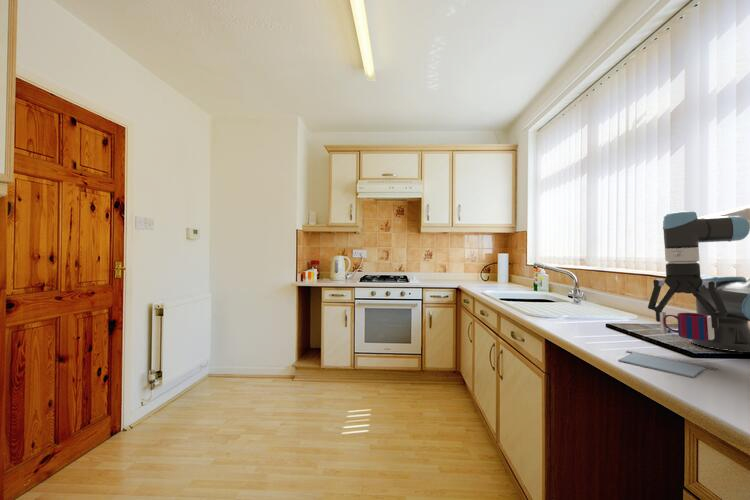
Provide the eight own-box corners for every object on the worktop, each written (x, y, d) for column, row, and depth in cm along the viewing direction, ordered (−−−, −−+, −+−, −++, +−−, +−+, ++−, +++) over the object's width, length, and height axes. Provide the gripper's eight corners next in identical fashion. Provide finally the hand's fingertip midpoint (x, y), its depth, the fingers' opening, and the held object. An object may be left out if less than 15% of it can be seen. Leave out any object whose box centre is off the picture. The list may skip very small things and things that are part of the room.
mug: (709, 341, 91) (707, 317, 91) (662, 335, 99) (661, 313, 99) (710, 337, 95) (709, 314, 96) (666, 331, 103) (664, 310, 103)
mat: (632, 354, 100) (632, 352, 100) (704, 368, 87) (704, 367, 87) (618, 361, 94) (618, 359, 94) (693, 377, 81) (693, 376, 81)
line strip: (628, 351, 103) (628, 350, 103) (717, 368, 86) (717, 367, 86) (626, 352, 102) (626, 351, 102) (716, 370, 85) (716, 369, 85)
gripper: (632, 263, 105) (636, 331, 104) (734, 262, 86) (739, 345, 85) (640, 262, 109) (644, 327, 108) (739, 261, 90) (745, 340, 90)
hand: (686, 335), depth 97 cm, fingers closed on mug, 10 cm apart
